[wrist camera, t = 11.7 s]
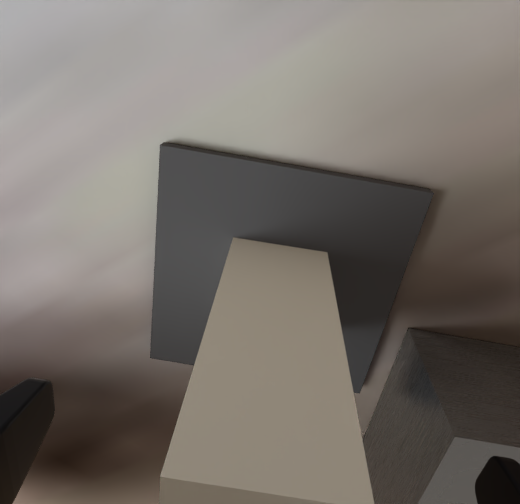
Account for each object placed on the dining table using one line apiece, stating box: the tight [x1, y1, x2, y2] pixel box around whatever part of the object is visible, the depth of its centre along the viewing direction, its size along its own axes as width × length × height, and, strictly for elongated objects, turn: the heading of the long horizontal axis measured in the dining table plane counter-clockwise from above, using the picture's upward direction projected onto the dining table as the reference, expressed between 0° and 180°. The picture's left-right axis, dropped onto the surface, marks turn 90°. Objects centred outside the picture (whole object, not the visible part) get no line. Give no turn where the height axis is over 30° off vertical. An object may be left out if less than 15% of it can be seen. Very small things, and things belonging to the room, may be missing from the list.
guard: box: [363, 328, 520, 504], centre depth 15 cm, size 10×10×4 cm
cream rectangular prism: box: [159, 237, 374, 504], centre depth 10 cm, size 3×3×8 cm
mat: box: [150, 142, 434, 393], centre depth 14 cm, size 8×8×1 cm
